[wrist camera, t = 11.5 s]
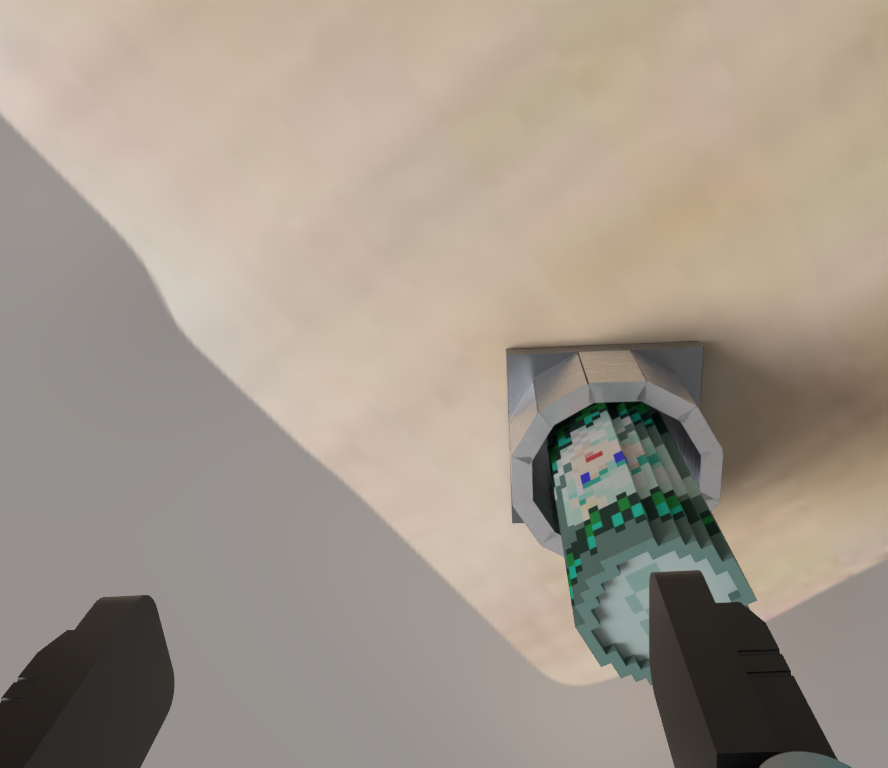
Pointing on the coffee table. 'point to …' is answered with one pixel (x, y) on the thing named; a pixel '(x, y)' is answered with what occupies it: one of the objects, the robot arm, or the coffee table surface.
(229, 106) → the coffee table surface
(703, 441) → the collar holder
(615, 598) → the can
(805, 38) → the coffee table surface
